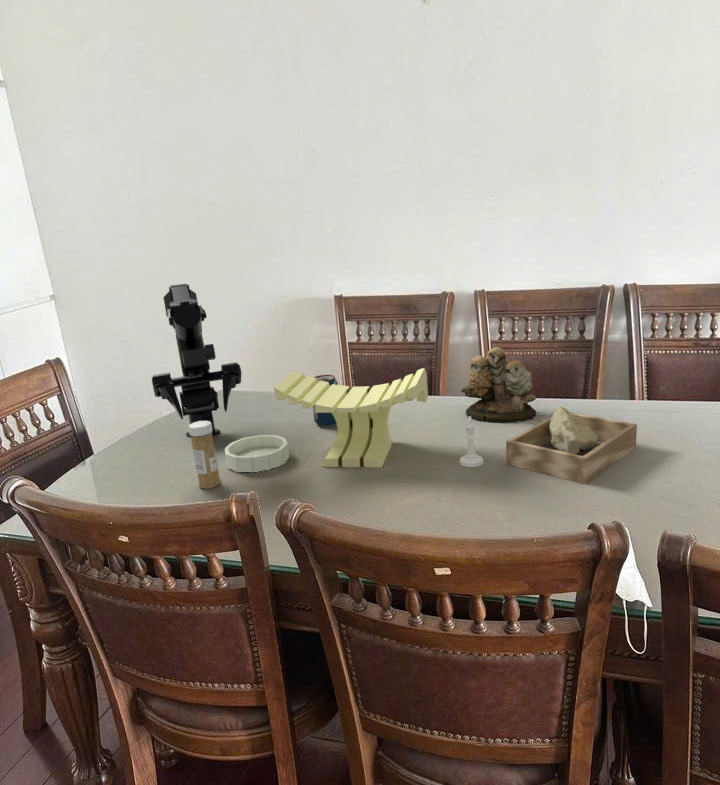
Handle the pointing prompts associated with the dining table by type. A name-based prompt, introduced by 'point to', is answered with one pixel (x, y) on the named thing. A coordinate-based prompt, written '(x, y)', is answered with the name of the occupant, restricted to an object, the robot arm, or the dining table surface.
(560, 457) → the light brown wooden tray
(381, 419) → the slatted curved stool
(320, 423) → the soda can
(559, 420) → the pale beige rock
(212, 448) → the sprinkles bottle
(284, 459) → the bowl
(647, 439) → the dining table surface
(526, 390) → the owl figurine
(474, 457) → the chess piece
